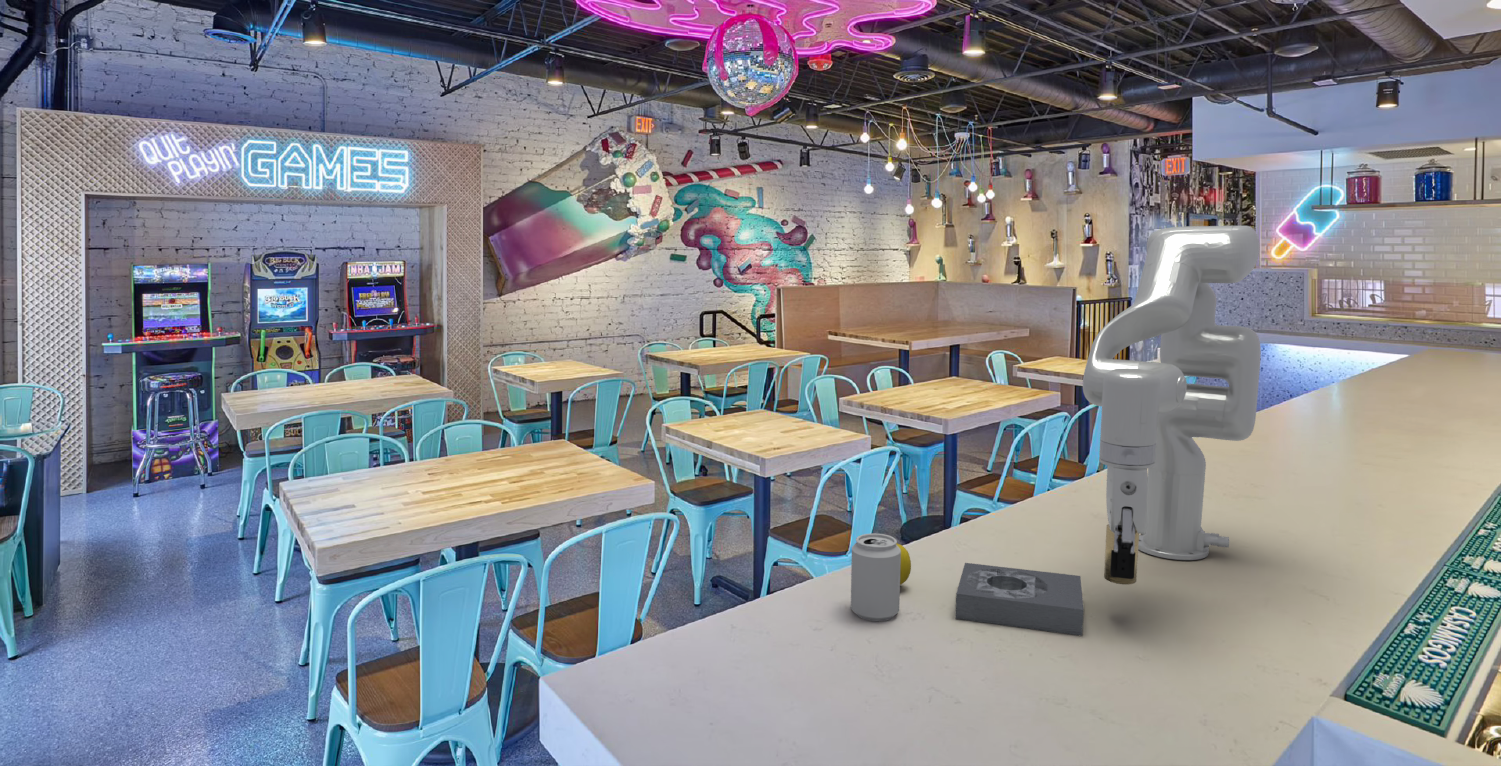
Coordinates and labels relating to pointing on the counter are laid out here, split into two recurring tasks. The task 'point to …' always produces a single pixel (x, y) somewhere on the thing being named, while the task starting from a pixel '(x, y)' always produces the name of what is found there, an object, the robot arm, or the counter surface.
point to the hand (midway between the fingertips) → (1120, 569)
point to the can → (875, 577)
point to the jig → (1020, 598)
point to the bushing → (1108, 557)
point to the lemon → (904, 564)
